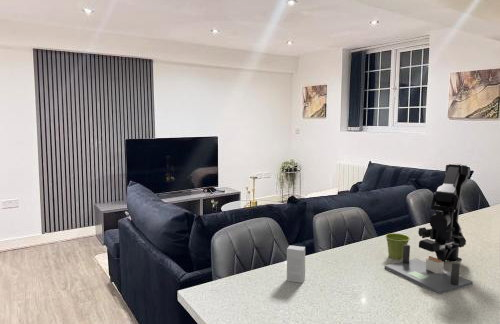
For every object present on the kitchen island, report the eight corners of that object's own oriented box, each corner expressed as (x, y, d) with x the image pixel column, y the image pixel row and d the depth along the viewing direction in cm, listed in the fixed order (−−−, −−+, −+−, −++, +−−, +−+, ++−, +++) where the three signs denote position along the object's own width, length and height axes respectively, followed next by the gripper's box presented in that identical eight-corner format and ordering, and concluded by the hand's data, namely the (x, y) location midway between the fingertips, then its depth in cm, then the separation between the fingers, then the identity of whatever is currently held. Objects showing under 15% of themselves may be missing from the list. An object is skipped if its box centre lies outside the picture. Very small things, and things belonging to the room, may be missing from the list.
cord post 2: (453, 281, 133) (454, 262, 132) (460, 284, 131) (461, 264, 130) (448, 283, 132) (450, 263, 131) (455, 285, 130) (456, 266, 129)
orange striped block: (431, 267, 145) (432, 255, 144) (442, 272, 140) (443, 259, 140) (425, 268, 144) (426, 256, 143) (437, 273, 139) (438, 261, 139)
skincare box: (305, 278, 138) (305, 246, 137) (303, 283, 134) (303, 250, 133) (288, 276, 140) (289, 244, 139) (286, 281, 136) (286, 248, 135)
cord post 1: (405, 261, 152) (406, 244, 151) (410, 263, 150) (411, 245, 149) (401, 262, 151) (402, 245, 150) (406, 264, 149) (406, 246, 148)
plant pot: (410, 261, 154) (411, 241, 153) (386, 260, 156) (387, 239, 155) (406, 253, 163) (407, 234, 162) (383, 252, 165) (383, 232, 164)
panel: (416, 261, 155) (416, 258, 155) (472, 284, 133) (472, 281, 133) (384, 268, 148) (384, 265, 147) (438, 294, 126) (439, 290, 126)
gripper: (441, 216, 153) (439, 254, 154) (407, 221, 145) (405, 261, 146) (468, 223, 143) (465, 263, 144) (433, 229, 135) (430, 272, 136)
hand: (441, 264), depth 143 cm, fingers closed
